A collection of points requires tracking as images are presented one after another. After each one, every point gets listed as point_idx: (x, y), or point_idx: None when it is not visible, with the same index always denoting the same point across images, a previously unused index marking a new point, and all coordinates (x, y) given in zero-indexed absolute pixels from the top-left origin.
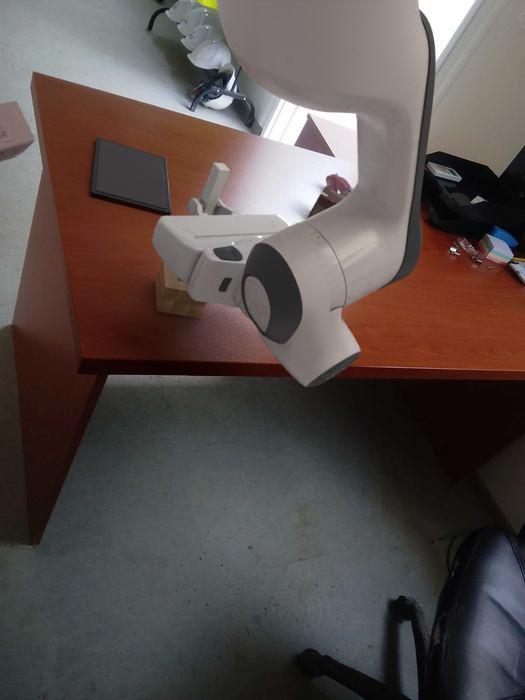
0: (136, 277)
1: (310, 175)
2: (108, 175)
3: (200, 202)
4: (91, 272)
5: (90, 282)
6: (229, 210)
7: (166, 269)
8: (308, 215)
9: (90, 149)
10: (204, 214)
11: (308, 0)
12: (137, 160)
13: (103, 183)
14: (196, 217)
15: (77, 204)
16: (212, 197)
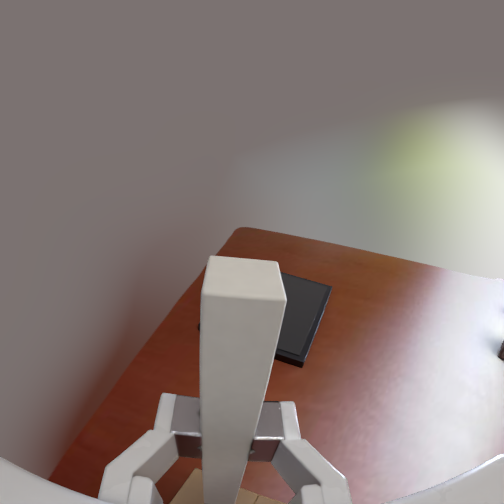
0: (168, 472)
1: (494, 299)
2: None
3: (179, 419)
4: (105, 440)
5: (90, 454)
6: (305, 469)
7: (179, 498)
8: (501, 350)
9: None
10: (132, 484)
11: None
12: (291, 289)
13: None
14: (25, 492)
15: (173, 338)
16: (219, 415)
